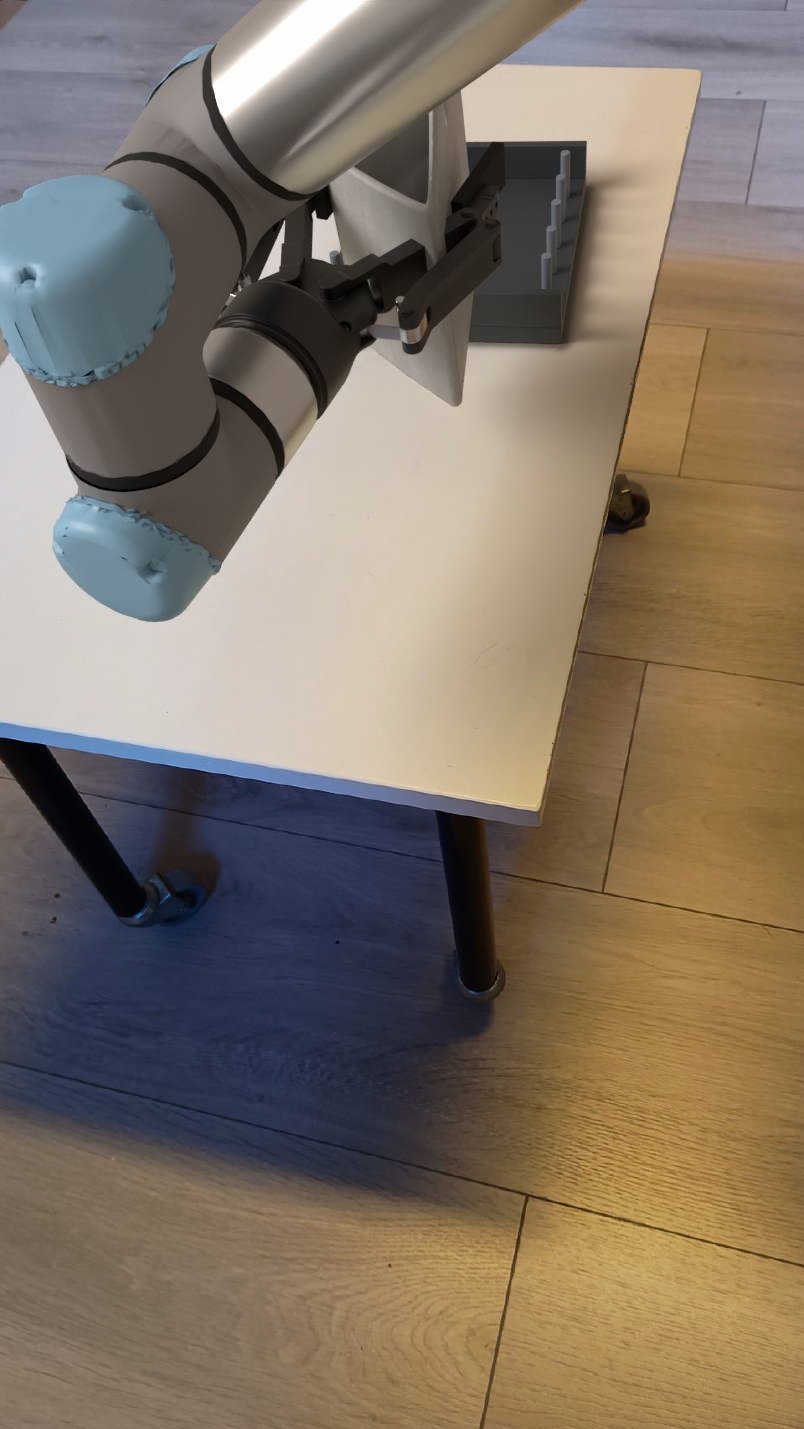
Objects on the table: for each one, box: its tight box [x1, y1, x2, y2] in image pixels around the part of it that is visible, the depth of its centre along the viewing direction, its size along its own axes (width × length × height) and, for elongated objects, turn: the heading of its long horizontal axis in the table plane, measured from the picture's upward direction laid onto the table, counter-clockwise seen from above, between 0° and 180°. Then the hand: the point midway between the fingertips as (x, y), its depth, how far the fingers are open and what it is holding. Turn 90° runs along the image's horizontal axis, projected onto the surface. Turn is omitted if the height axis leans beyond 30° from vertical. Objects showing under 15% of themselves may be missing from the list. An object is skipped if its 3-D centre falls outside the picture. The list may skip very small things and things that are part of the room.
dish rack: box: [328, 140, 588, 345], centre depth 93 cm, size 20×21×6 cm
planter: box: [327, 90, 474, 408], centre depth 70 cm, size 16×8×19 cm, turn 174°
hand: (429, 152), depth 71 cm, fingers closed on planter, 9 cm apart
